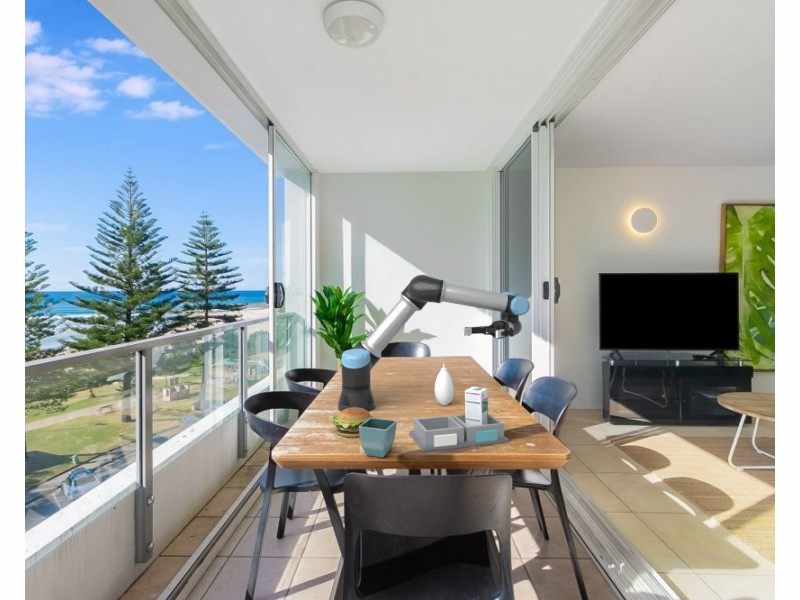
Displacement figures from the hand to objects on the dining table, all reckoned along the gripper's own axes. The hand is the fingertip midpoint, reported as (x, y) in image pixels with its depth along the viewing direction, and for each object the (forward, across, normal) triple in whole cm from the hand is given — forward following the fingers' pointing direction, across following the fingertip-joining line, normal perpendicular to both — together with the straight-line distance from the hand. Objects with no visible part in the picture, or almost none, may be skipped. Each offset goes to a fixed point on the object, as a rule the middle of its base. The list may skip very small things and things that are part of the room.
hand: (479, 333), depth 148 cm
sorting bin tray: (+24, -4, -32) cm, 40 cm away
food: (+39, +28, -32) cm, 58 cm away
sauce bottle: (-6, +19, -32) cm, 37 cm away
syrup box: (+19, -8, -31) cm, 37 cm away
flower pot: (+48, +10, -32) cm, 59 cm away
